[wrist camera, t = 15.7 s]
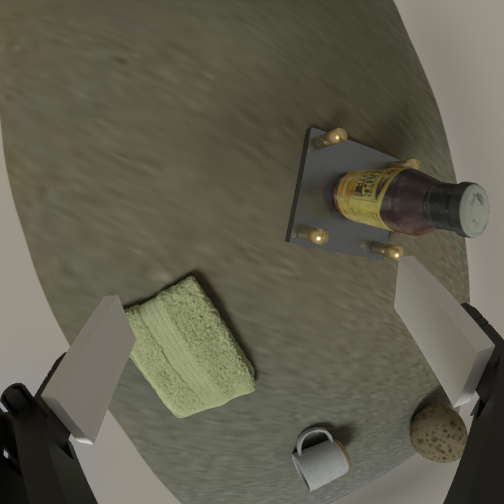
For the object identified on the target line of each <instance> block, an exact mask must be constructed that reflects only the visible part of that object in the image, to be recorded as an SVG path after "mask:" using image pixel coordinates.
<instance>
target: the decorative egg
mask: <svg viewBox="0 0 504 504" xmlns="http://www.w3.org/2000/svg"><path fill="white" fill-rule="evenodd" d="M467 438H468V434H467V430H466V426H465V424H464V422H463V420H462V418H461V417H460V416H459V414H458V413H457V412H456V411H454V410H453V409H451V408H450V407H447V406H444V405H432V406H429V407H426V408H424V409H423V410H421V411H420V412H419V413H418V414H417V415H416V416H415V418H414V419H413V421H412V423H411V426H410V440H411V443H412V445H413V447H414V448H415V450H416V451H417V452H418V453H419V454H421V455H422V456H423V457H425V458H428V459H429V460H432V461H436V462H443V463H444V462H453V461H456V460H458V459H459V458H461V457H462V454H463V451H464V448H465V445H466V442H467Z"/></svg>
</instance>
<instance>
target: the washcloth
mask: <svg viewBox="0 0 504 504" xmlns="http://www.w3.org/2000/svg"><path fill="white" fill-rule="evenodd" d="M124 312H125V314H126V317H127V319H128V321H129V324H130V326H131V329H132V331H133V333H134V336H135V338H136V342H135V344H134V346H133V348H132V351H131V353H130V355H129V356H130V357H131V358H132V360H133V361H134V362H135V364H136V366H137V367H138V368H139V369H140V371H141V372H142V373H143V375H144V377H145V378H146V379H147V381H148V382H150V383H151V386H152V388H154V389H155V390H156V392H157V394H158V396H159V398H161V399H162V402H163V403H164V404H165V405H166V406H167V408H169V410H170V411H171V412H172V413H173V414H174V415H175V416H177V417H180V418H183V417H187V416H190V415H192V414H194V413H197V412H201V411H203V410H206V409H210V408H213V407H217V406H221V405H223V404H225V403H227V402H228V401H229V400H231V399H233V398H235V397H238V396H240V395H244V394H248V393H251V392H253V391H255V384H256V382H255V380H254V377H253V376H254V374H255V373H254V368H253V366H252V365H251V362H250V361H248V359H247V358H246V356H245V354H244V352H243V351H242V350H241V348H240V346H239V345H238V343H237V342H236V341H235V338H234V337H233V335H232V333H231V331H230V330H229V328H227V326H226V323H225V321H224V320H223V319H222V318H221V317H220V314H219V313H218V310H217V308H215V307H214V306H213V303H212V301H211V299H210V298H208V296H206V294H205V292H204V291H203V289H202V287H201V286H200V284H199V283H198V282H197V281H196V279H195V277H193V276H190V277H186V279H185V280H182V281H180V282H179V283H178V284H176V285H173V286H171V287H170V288H169V289H167V290H163V291H161V292H158V295H157V296H156V297H155V298H152V299H150V300H148V301H146V302H145V303H143V304H141V305H138V304H137V305H133V306H132V307H130V308H129V309H125V310H124Z"/></svg>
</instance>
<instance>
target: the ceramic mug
mask: <svg viewBox="0 0 504 504" xmlns="http://www.w3.org/2000/svg"><path fill="white" fill-rule="evenodd" d="M312 432H324V433H326V435H327V436H328V440H326V441H324V442H321V443H319V444H317V445H315V446H312V447H309V448H307V449H304V450H301V446H302V442H303V440H304V439H305V437H306V436H307V435H308V434H309V433H312ZM292 458H293V461H294V464H295V466H296V469H297V471H298V473H299V475H300V477H301V479H302V480H303V482H304V484H305V485H306V487H307V488H308V490H309V491H313V490H315V489H317V488H319V487H321V486H323V485H325V484H327V483H329V482H330V481H332V480H334V479H336V478H338V477H340V476H342V475H343V474H345V473H346V472H347V471H348V470H350V468H351V460H350V457H349V455H348V453H347V451H346V449H345V448H344V446H343V445H342V444H341V442H339V441H338V440H336V439H333V438H332V436H331V434H330V433H329V432H328V431H327V430H325V429H323V428H321V427H313V428H310V429H307V430H305V431H304V432H303V433H302V434H301V435H300V436H299V438H298V440H297V452H296V453H294V454H292Z"/></svg>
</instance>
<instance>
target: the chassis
mask: <svg viewBox="0 0 504 504" xmlns="http://www.w3.org/2000/svg"><path fill="white" fill-rule="evenodd" d="M384 168H414V169H416V170H420V162H419V161H418V160H417V159H409V160H399V159H397V158H394V157H392V156H389V155H387V154H385V153H382V152H380V151H377V150H375V149H372V148H370V147H367V146H364V145H362V144H359V143H356V142H354V141H351V140H348V139H347V132H346V131H345V130H344V129H343V128H337V129H334V130H332V131H329V132H325V131H322V130H319V129H316V128H313V127H311V128H309V129H307V130H306V136H305V141H304V147H303V152H302V158H301V163H300V169H299V174H298V179H297V184H296V189H295V195H294V200H293V205H292V210H291V215H290V220H289V225H288V230H287V235H286V240H285V241H287V242H289V243H294V244H300V245H305V246H310V247H316V248H321V249H326V250H332V251H337V252H342V253H348V254H353V255H358V256H363V257H368V258H373V259H379V260H384V256H386V257H389V258H392V259H395V260H399V258H400V257H405V255H406V252H405V249H404V248H402V247H398V246H394V245H390V244H387V242H388V237H389V232H390V230H387V229H383V228H379V227H375V226H371V225H367V224H363V223H359V222H355V221H352V220H350V219H348V218H347V217H345V216H344V215H342V214H341V213H340V212H339V210H338V209H337V208H336V205H335V200H334V188H335V186H336V184H337V182H338V181H339V179H340V178H341V177H342V176H343V175H344V174H346V173H349V172H352V171H355V170H367V169H384Z"/></svg>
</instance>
